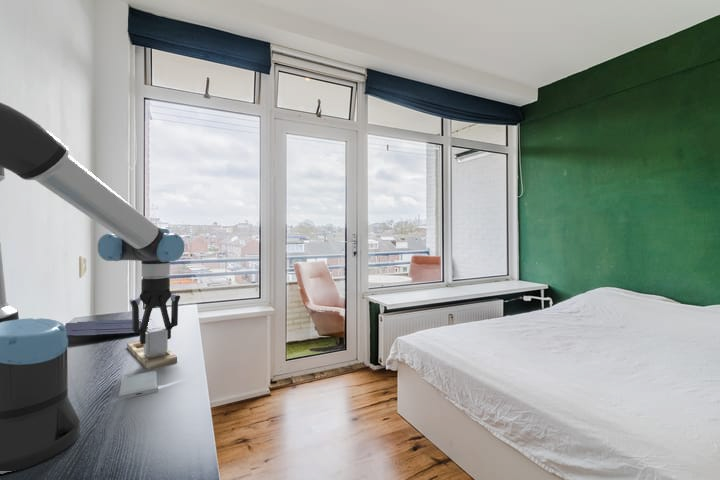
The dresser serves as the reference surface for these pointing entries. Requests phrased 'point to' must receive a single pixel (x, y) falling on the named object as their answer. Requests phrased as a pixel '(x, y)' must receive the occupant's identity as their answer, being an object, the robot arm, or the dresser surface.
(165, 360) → the rail
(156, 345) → the post
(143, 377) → the hard drive
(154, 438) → the dresser surface
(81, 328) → the dark grey flat slab
